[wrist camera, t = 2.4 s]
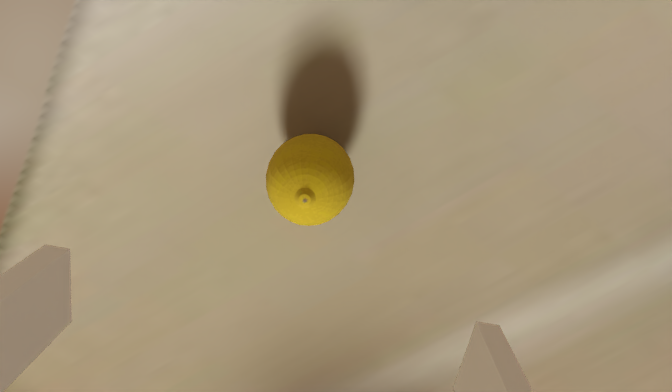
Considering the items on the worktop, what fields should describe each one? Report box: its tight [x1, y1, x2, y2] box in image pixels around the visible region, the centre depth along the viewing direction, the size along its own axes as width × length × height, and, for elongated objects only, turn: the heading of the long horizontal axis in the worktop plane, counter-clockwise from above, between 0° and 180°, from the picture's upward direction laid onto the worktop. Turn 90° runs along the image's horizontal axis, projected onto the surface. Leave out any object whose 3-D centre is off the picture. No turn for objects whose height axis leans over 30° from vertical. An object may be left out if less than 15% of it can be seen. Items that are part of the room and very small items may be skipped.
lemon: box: [266, 134, 354, 226], centre depth 28 cm, size 6×6×8 cm
